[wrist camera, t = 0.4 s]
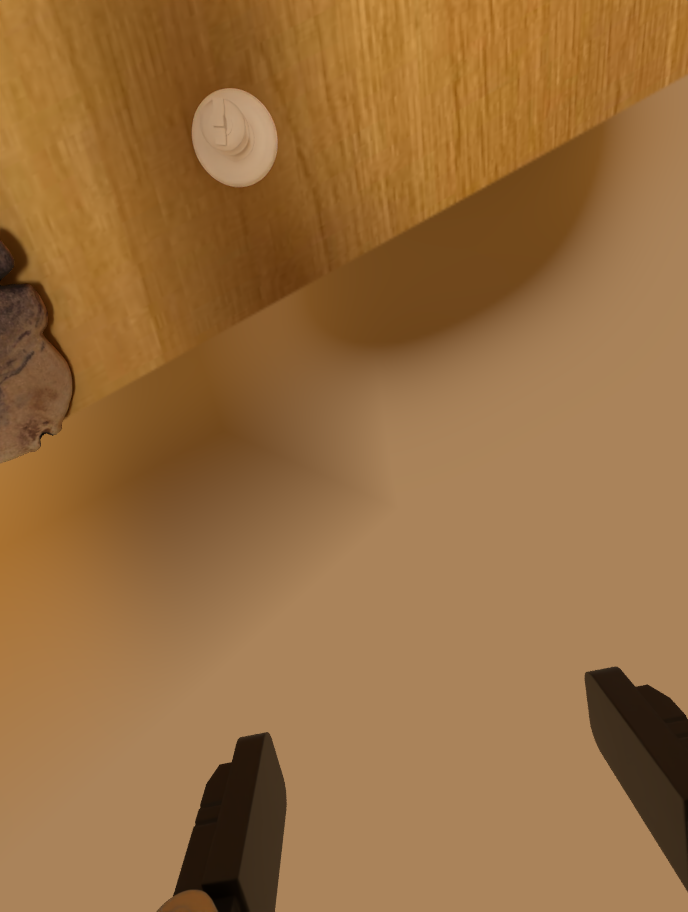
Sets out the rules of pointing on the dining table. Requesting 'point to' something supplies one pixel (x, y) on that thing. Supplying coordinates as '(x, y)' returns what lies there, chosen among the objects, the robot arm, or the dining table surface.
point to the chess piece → (234, 137)
